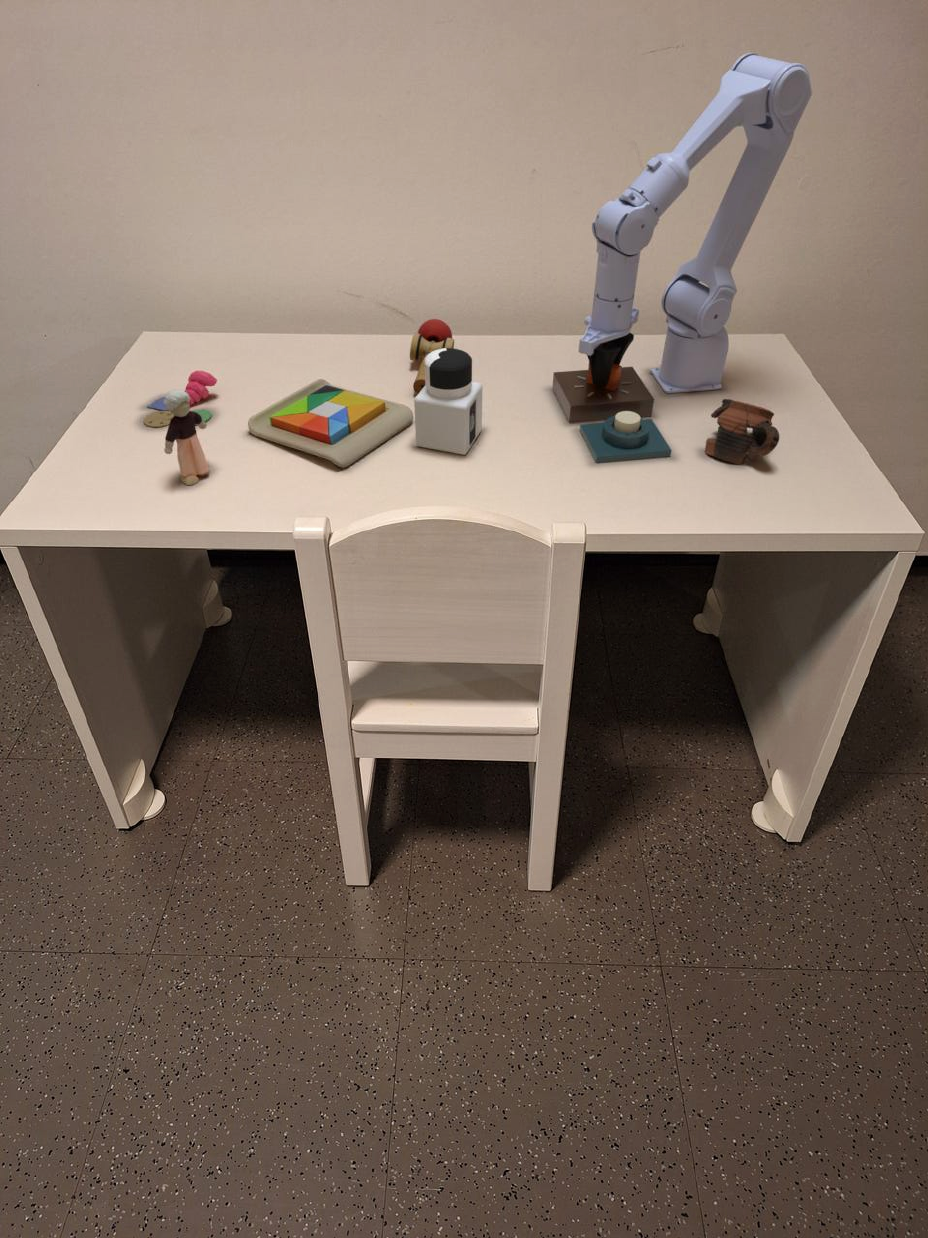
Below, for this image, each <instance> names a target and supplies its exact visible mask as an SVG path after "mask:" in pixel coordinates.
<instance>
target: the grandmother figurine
mask: <svg viewBox="0 0 928 1238" xmlns="http://www.w3.org/2000/svg"><path fill="white" fill-rule="evenodd" d="M184 391H185V390H181V389H171V390H170V391H168V393H167V394H165V396H164V397H165V399H164V404H165V405H166V408H167V409H168V410H167V411H170V412H171V413H172V414H173V415H175V416H174V417H173V418H172V419H170V420H171V421H170V420H169V421H170V424H169V425H168V426H167V430H166V435H165V438H164V439H165V443H164V446H165V447H164V449H163V451H164V453H165V454H166V455H171V454H172V453H173V447H174V444H175V442H176V451H177V455H176V457H177V462H178V466H179V470H180V471H179V472H180V474H181V475H180V481H181V482H182V483H184V484H185V485H187V486H192V485H195V484H197V483H199V479H200V478H199V477H204V476H207V475H208V474H210V472H211V469H210V467H209V464H208V463H209V462H208V460H207V458H206V456H205V455H206V454H205V452H204V450H203V447H202V445H201V442H200V439H199V437H198V433H197V429H196V426H198V428H199V429H201V430H205V429H207V423H206V422H204V421H203V419H202V417H201V415H199V414H198V413H196V412H194V411H195V410H191V407H190V406H191V405H189V401H190V396H189V395H188V394H187V393H186V392H184ZM196 424H197V425H196ZM198 476H199V477H198Z"/></svg>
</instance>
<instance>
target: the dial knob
mask: <svg viewBox="0 0 928 1238" xmlns="http://www.w3.org/2000/svg"><path fill="white" fill-rule="evenodd" d="M622 367H623V366H622V365H621V364H620V365H617V364H613V366H612V369H611V373H610V377H609V381H608V383H607V386H606V387H602V388H606V389H609V390H612V391H615V390H616V389H617V388H619V383H620V376H621V369H622ZM587 370H588V376H587V383H590V384H593V381H592V374H591V368H590V363H589V362H588V369H587ZM593 385H594V384H593ZM596 386H597V385H596ZM599 387H600V386H599Z"/></svg>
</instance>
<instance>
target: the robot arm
mask: <svg viewBox="0 0 928 1238" xmlns="http://www.w3.org/2000/svg"><path fill="white" fill-rule="evenodd" d="M810 78H811V77H810V73H809V71H808V68H807V67H806V66H805V65H804V64H803V63H799V62H788V61H783V60H779V59H775V58H770V57H765V56H761V55H759V54H757V53H754V52H747V53H743V54H742V55H741V56H740V57H739V58H737V59H736V61H735V62H734V63H733V64H732V65H731V68H730V69H729V70H727V72H726V73H724V74H723V75H722V77H721V79H720V81H719V82H720V83H719V89H718V92H717V94H716V95H715V97H714V98H713V99H712V100H711V102H710V103H709V104H708V106H707V107H706V108H705V109H704V110H703V112H702V113H701V114H700V116H699V117H698V118H697V119H696V121H695V122H694V123H693V125H692V126H691V127H690V128H689V130H688V131H687V132H686V133H685V135H684V136H683V137H682V139H680V141H679V143H677V145H676V146H675V148H674V149H673V150H672V151H671V152H662V153H661V152H660V153H659V154H657V155H656V156H655V157H654V156H653V157H651V159H649V160H648V162H647V163H646V167H645V168H644V169H643V170H642V172H641V173H640V174H639V175H638V176H637V177H636V178H635V180H634V181H633V182H632V183H631V184H630V185H629V186H628V187H627V188H626V189H625V190H624V191H623V192H622V193H621V195H620V196H619V198H613V200H609V201H608V202H607V203H605V204H603V206H601V208H600V209H599V211H598V212H597V214H596V217H595V219H594V221H592V222H591V231H592V235H593V238H594V239H595V240H596V253H597V261H596V262H597V263H596V270H595V271H596V272H595V281H594V289H593V301H592V308H591V309H592V310H591V315H588V316H587V317H585V318H584V320H583V324H584V325H585V326H587V327H586V330H585V331H584V334H583V336H582V337H581V338H580V339H579V341H578V342H579V343H578V353H580V354H583V355H586V356H587V359H588V364H589V363H590V368H591V374H592V381H593V384H594V385H597V386H600V387H606V386H607V383H608V381H609V377H610V373H611V369H612V366H613V364H617V365H620V366H621V362H622V359H623V357H624V355H625V353H626V352H627V350H628V348H629V346H631V344H632V342H633V341H634V339H635V335H634V334H633V333H632V332H631V331H632V328H633V325H634V324H636V323H638V322H639V321H638V320H639V314H640V309H639V308H635V307H634V300H635V294H636V287H637V286H636V285H637V279H638V272H639V265H640V257H641V251H643V249H645V248H647V246H648V245H649V244H650V242H651V240H652V238H653V235H654V231H655V228H656V227H657V226H658V224H659V221H660V218H661V217H662V215H663V214H664V213H665V212H666V211H667V210H668V209H669V208H670V207H671V206H672V205H673V203H674V202H675V201H676V200H677V199H678V198H679V197H680V195H681V194H682V193H683V192H684V191H685V190H686V189H687V188H688V185H689V181H690V172H691V171H692V170H693V169H694V168H695V167H696V166H697V165H698V164H699V163H700V162H701V161H703V159H704V158H706V156H707V155H708V154H709V153H710V152H712V150H713V149H714V148H716V147H717V145H719V144H720V143H721V142H722V141H723V140H724V139H725V138H726V137H727V136H728V135H729V134H730V133H731V132H732V131H733V130H734V129H735V128H738V127H742V128H743V130H744V134H745V137H746V142H747V143H746V146H745V148H744V150H743V153H742V155H741V157H740V160H739V161H738V164H737V166H736V168H735V171H734V173H733V175H732V177H731V179H730V182H729V183H728V186H727V188H726V191H725V193H724V195H723V197H722V199H721V201H720V204H719V206H718V208H717V210H716V213H715V215H714V217H713V219H712V221H711V223H710V224H711V225H710V226H709V229H708V230H707V232H706V235H705V237H704V239H703V242H702V244H701V246H700V248H699V251H698V253H697V255H696V257H694V258H693V259H690V260H689V261H686V262H685V263H683V264H681V265H680V266H679V268H678V270H677V272H676V274H675V276H674V277H673V279H672V280H671V281H670V282H669V283H668V284H667V285H666V287H665V289H664V291H663V293H662V296H661V310H662V311H663V313H664V314H665V315H666V318H665V323H667V329H666V335H665V340H664V346H663V351H662V358H661V363H660V367H654V368H650V373H651V374H652V376H653V378H654V379H655V380H656V382H657V383H658V384H659V386H660V387H661V389H662V390H663V392H664V393H666V394H675V393H676V394H677V393H688V392H703V391H715V390H716V391H717V390H721V389H722V388H723V385H722V384H721V383H722V377H723V374H724V371H725V366H726V362H727V358H728V357H727V356H728V352H729V344H730V343H729V334H728V331H727V328H726V327H724V326H725V325H726V324H727V322H728V320H729V318H730V315H731V312H732V306H733V305H732V304H733V301H734V298H735V296H736V294H737V292H738V289H737V286H736V283H735V281H734V276H733V274H732V268H733V267H734V264H735V262H736V260H737V258H738V256H739V254H740V252H741V249H742V248H743V245H744V243H745V241H746V239H747V237H748V235H749V233H750V231H751V228H752V227H753V224H754V222H755V221H756V218H757V216H758V214H759V211H760V210H761V207H762V205H763V203H764V202H765V200H766V197H767V195H768V193H769V191H770V188H771V187H772V184H773V183H774V180H775V178H776V176H777V175H778V172H779V170H780V168H781V165H782V163H783V161H784V159H785V157H786V155H787V154H788V151H789V149H790V147H791V144H792V142H793V139H794V135H795V131H796V129H797V127H798V125H799V122H800V120H801V119H802V116H803V114H804V112H805V110H806V108H807V106H808V104H809V101H810V99H811V97H812V96H813V91H812V86H811V85H812V84H811V79H810Z"/></svg>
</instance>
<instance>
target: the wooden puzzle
mask: <svg viewBox="0 0 928 1238" xmlns="http://www.w3.org/2000/svg"><path fill="white" fill-rule="evenodd" d="M413 420H414V413H413V410H412V409H411V408H410V407H409V406H407V405H405V404H402V403H398V402H394V401H389V400H388V399H382V398H379V397H375V396H371V395H367V394H365V393H360V392H356V391H353V390H350V389H346V388H342V387H339V386H335V385H333V384H331V382H329V381H327V380H326V379H323V378H318V379H316V380H314V381H312V382H310V383H309V384H307V385H305V386H303V387H301V388H299V389H298V390H296V391H295V392H292V393H291V394H289V395H287V396H285V397H284V398H282V399H280V400H278V401H276V402H275V403H273V404H271V405H270V406H268V407H266V408H264V409H262V410H261V411H259V412H257V413H256V414H254V415H252V416H250V417H249V419H248V421H247V427H248V430H249V432H250V433H251V434H252V435H253V436H255V437H258V438H260V439H264V440H267V441H270V442H274V443H276V444H280V445H282V446H286V447H289V448H292V449H295V450H299V451H302V452H304V453H308V454H310V455H314V456H317V457H319V458H323V459H326V460H328V461H330V462H332V463H333V464H334V465H336V466H337V467H339V468H343V469H344V468H348V467H350V465H352V464H354V463H355V462H357V461H358V460H360V459H361V458H362V457H364V456H366V455H367V454H368V453H370V452H371V451H373V450H374V449H376V448H377V447H379V446H380V445H381V444H383V443H385V442H387V440H389V439H390V438H392V437H393V436H395V435H396V434H398V433H399V432H400V431H402V430H403V429H405V428H407V426H409V425H410V424H412V422H413Z"/></svg>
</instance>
